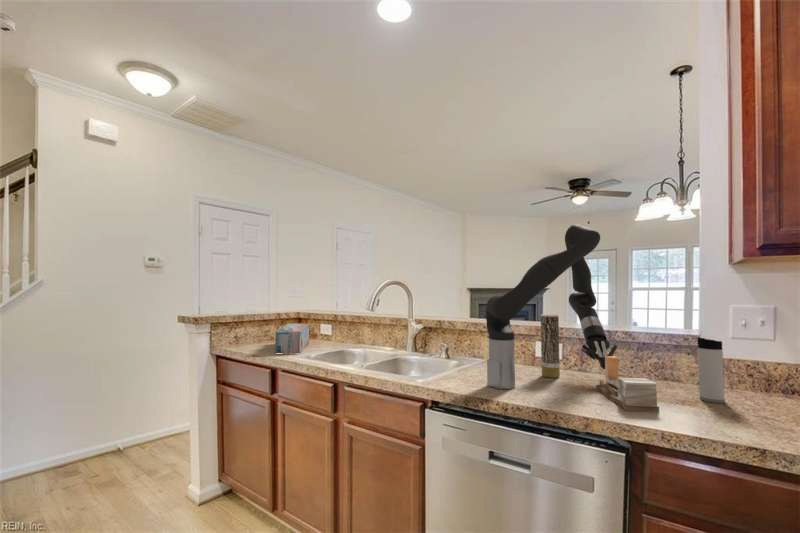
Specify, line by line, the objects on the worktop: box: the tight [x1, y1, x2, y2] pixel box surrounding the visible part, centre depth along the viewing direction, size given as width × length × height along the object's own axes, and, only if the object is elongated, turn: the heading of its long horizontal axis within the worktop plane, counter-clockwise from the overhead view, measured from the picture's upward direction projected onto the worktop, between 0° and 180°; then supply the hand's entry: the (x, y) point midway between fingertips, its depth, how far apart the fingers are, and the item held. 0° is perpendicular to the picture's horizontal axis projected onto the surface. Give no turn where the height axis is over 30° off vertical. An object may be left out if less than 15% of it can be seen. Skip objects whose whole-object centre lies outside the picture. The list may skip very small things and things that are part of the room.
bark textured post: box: [540, 313, 561, 379], centre depth 154 cm, size 7×7×25 cm
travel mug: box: [697, 337, 726, 404], centre depth 122 cm, size 6×7×20 cm
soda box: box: [274, 323, 310, 354], centre depth 224 cm, size 41×14×13 cm, turn 7°
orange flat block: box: [604, 355, 619, 390], centre depth 127 cm, size 13×3×10 cm, turn 172°
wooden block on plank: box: [595, 377, 660, 413], centre depth 123 cm, size 24×9×8 cm, turn 172°
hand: (605, 368), depth 137 cm, fingers closed
